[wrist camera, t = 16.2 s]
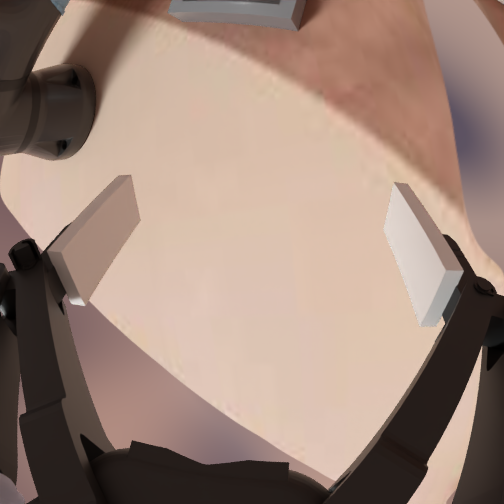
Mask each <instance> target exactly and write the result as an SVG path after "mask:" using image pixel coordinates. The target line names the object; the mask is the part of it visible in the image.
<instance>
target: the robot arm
mask: <svg viewBox="0 0 504 504" xmlns="http://www.w3.org/2000/svg"><path fill="white" fill-rule="evenodd" d="M69 1H70V0H0V156H3V155H9V154H16V153H25V154H28V155H32V156H35V157H39V158H42V159H46V160H53V161H54V160H62V159H67V158H69V157H71V156H73V155H74V154H75V153H76V152H77V151H78V150H79V149H80V148H81V146H82V145H83V143H84V142H85V140H86V138H87V136H88V134H89V131H90V129H91V125H92V122H93V118H94V112H95V100H96V98H95V88H94V83H93V80H92V78H91V76H90V74H89V72H88V71H87V70H86V69H85V68H83V67H82V66H79V65H73V64H60V65H55V66H52V67H48V68H44V69H40V70H37V71H33V72H31V71H32V69H33V67H34V65H35V63H36V61H37V58H38V56H39V54H40V52H41V51H42V49H43V47H44V45H45V43H46V41H47V39H48V37H49V36H50V34H51V32H52V30H53V28H54V27H55V25H56V23H57V22H58V20H59V18H60V17H61V15H62V16H63V14H64V12H65V11H64V10H65V8H66V6H67V4H68V3H69ZM139 222H140V215H139V211H138V206H137V201H136V197H135V192H134V187H133V182H132V177H131V175H120V176H118V177H117V178H116V179H114V180H113V181H112V182H111V183H110V184H109V185H108V186H107V187H106V188H105V189H104V190H103V191H102V192H101V193H100V194H99V195H98V196H97V197H96V198H95V199H94V200H93V201H92V202H91V203H90V204H89V205H88V206H87V207H86V208H85V209H84V210H83V211H82V212H81V214H80V215H79V216H78V217H77V218H76V219H75V220H74V221H73V222H72V223H70V224H69V225H67V226H66V227H65V228H64V229H63V230H62V231H61V232H60V233H59V235H57V236H56V238H55V239H54V240H53V241H52V242H51V243H50V244H49V246H48V247H47V248H46V249H45V250H44V251H43V253H42V254H40V252H39V250H38V247H37V245H36V243H35V240H34V239H25V240H22V241H20V242H18V243H17V244H15V245H14V246H13V247H12V248H11V249H10V251H9V253H8V254H9V257H10V259H11V261H12V263H13V265H14V267H15V269H16V270H15V271H10V272H8V271H7V269H6V267H5V265H4V264H3V263H0V311H1V312H2V314H3V316H1V312H0V504H25V500H24V497H23V495H22V494H21V493H20V492H18V491H17V488H16V481H17V468H18V466H17V456H18V454H17V415H18V414H17V413H18V395H19V382H20V372H21V379H22V387H23V393H24V398H25V405H26V413H24V414H22V415H20V417H19V425H20V430H21V435H22V439H23V444H24V448H25V452H26V456H27V460H28V463H29V467H30V471H31V474H32V477H33V481H34V484H35V486H36V490H37V493H38V497H37V498H35V499H33V500H32V501H30V502H29V503H27V504H407V503H408V501H409V500H410V498H411V497H412V496H413V494H414V493H415V491H416V490H417V488H418V487H419V485H420V484H421V482H422V480H423V479H424V477H425V475H426V473H427V470H428V466H427V462H428V460H429V458H430V456H431V455H432V453H433V451H434V449H435V448H436V446H437V444H438V442H439V441H440V439H441V437H442V435H443V433H444V431H445V429H446V428H447V426H448V424H449V422H450V420H451V418H452V416H453V414H454V412H455V410H456V408H457V405H458V403H459V401H460V399H461V397H462V395H463V392H464V390H465V388H466V385H467V383H468V381H469V378H470V376H471V373H472V371H473V368H474V366H475V363H476V360H477V358H478V355H479V352H480V350H481V347H482V361H481V372H480V381H479V390H478V397H477V404H476V410H475V416H474V422H473V427H472V432H471V437H470V441H469V446H468V450H467V454H466V458H465V462H464V466H463V470H462V473H461V477H460V480H459V483H458V487H457V490H456V493H455V496H454V499H453V502H452V504H504V296H502V295H498V294H497V292H496V290H495V287H494V286H493V285H492V284H491V283H490V282H489V281H487V280H486V279H484V278H482V277H478V276H476V274H475V273H474V271H473V269H472V267H471V266H470V264H469V262H468V261H467V259H466V258H465V256H464V254H463V253H462V251H461V249H460V248H459V246H458V245H457V243H456V242H455V241H454V240H453V239H452V238H451V237H450V236H448V235H444V234H442V233H441V232H440V230H439V229H438V227H437V226H436V224H435V223H434V221H433V220H432V218H431V217H430V215H429V214H428V212H427V211H426V209H425V208H424V206H423V205H422V203H421V202H420V201H419V199H418V198H417V196H416V195H415V194H414V192H413V191H412V189H411V188H410V187H409V185H408V184H406V183H397V182H393V187H392V192H391V197H390V202H389V207H388V211H387V216H386V220H385V225H384V229H383V230H384V232H385V235H386V237H387V240H388V242H389V244H390V247H391V249H392V252H393V254H394V257H395V259H396V262H397V264H398V267H399V270H400V272H401V275H402V277H403V280H404V283H405V286H406V288H407V291H408V294H409V297H410V300H411V303H412V305H413V308H414V311H415V314H416V317H417V321H418V324H419V327H433V326H437V324H438V322H439V320H440V319H441V317H442V316H443V318H444V321H445V325H444V327H443V328H442V330H441V332H440V334H439V335H438V337H437V339H436V340H435V344H434V345H433V347H432V349H431V351H430V353H429V354H428V356H427V358H426V360H425V361H424V363H423V365H422V366H421V368H420V370H419V371H418V373H417V375H416V376H415V378H414V380H413V381H412V383H411V384H410V386H409V388H408V389H407V391H406V392H405V394H404V395H403V397H402V398H401V400H400V401H399V403H398V404H397V406H396V407H395V409H394V410H393V411H392V413H391V414H390V416H389V417H388V419H387V420H386V421H385V423H384V424H383V425H382V427H381V428H380V429H379V431H378V432H377V433H376V435H375V436H374V437H373V439H372V440H371V441H370V443H369V444H368V445H367V446H366V448H365V449H364V450H363V451H362V453H361V454H360V455H359V456H358V457H357V459H356V460H355V461H354V462H353V463H352V464H351V466H350V467H349V468H348V469H347V470H346V471H345V472H344V473H343V474H342V475H341V476H340V477H339V478H338V480H337V481H336V482H335V483H334V484H333V485H332V486H331V487H330V488H329V489H328V490H327V489H326V488H324V487H323V486H322V485H321V484H319V483H318V482H316V481H315V480H314V479H312V478H310V477H307V476H306V475H303V474H301V473H298V472H295V471H292V470H289V463H288V462H287V463H286V462H266V461H252V460H246V461H239V462H231V463H221V464H211V465H205V464H201V463H199V462H196V461H194V460H191V459H189V458H187V457H185V456H182V455H180V454H178V453H176V452H174V451H171V450H169V449H167V448H163V447H158V446H153V445H149V444H145V443H141V442H136V441H133V440H132V442H131V446H130V448H125V449H117V450H115V448H114V447H113V446H112V444H111V443H110V441H109V440H108V438H107V437H106V434H105V432H104V430H103V428H102V425H101V422H100V420H99V417H98V415H97V412H96V409H95V407H94V404H93V401H92V398H91V396H90V393H89V390H88V387H87V384H86V381H85V378H84V375H83V372H82V368H81V365H80V362H79V358H78V355H77V351H76V348H75V344H74V340H73V336H72V332H71V328H70V324H69V320H68V316H67V311H66V307H65V304H64V302H63V300H62V299H63V297H64V295H65V294H67V296H68V298H69V300H70V302H71V304H77V305H83V306H86V304H87V302H88V300H89V299H90V297H91V295H92V294H93V292H94V290H95V289H96V287H97V286H98V284H99V282H100V281H101V279H102V278H103V276H104V274H105V273H106V271H107V270H108V268H109V266H110V265H111V263H112V262H113V260H114V259H115V257H116V256H117V254H118V253H119V251H120V250H121V248H122V247H123V245H124V244H125V242H126V241H127V239H128V238H129V236H130V235H131V233H132V232H133V230H134V229H135V228H136V226H137V225H138V223H139Z"/></svg>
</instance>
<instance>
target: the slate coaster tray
mask: <svg viewBox="0 0 504 504" xmlns="http://www.w3.org/2000/svg"><path fill="white" fill-rule="evenodd" d="M306 1H307V0H172V1H171V4H170V7H169V10H168V13H169V14H170V15H172V16H174V17H176V18H177V19H179V20H181V21H182V22H216V23H233V24H246V25H256V26H265V27H273V28H280V29H287V30H293V31H298V30H299V26H300V22H301V19H302V15H303V11H304V8H305V4H306Z"/></svg>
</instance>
